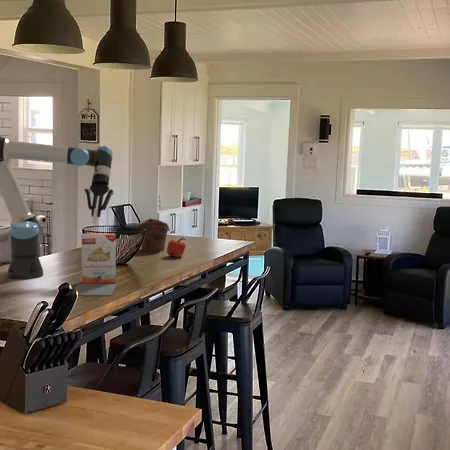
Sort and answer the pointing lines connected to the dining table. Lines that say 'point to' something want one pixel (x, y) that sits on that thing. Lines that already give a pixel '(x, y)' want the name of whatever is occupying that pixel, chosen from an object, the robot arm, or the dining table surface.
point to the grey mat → (95, 289)
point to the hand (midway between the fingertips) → (94, 223)
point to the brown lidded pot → (154, 235)
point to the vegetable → (176, 248)
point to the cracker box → (98, 258)
